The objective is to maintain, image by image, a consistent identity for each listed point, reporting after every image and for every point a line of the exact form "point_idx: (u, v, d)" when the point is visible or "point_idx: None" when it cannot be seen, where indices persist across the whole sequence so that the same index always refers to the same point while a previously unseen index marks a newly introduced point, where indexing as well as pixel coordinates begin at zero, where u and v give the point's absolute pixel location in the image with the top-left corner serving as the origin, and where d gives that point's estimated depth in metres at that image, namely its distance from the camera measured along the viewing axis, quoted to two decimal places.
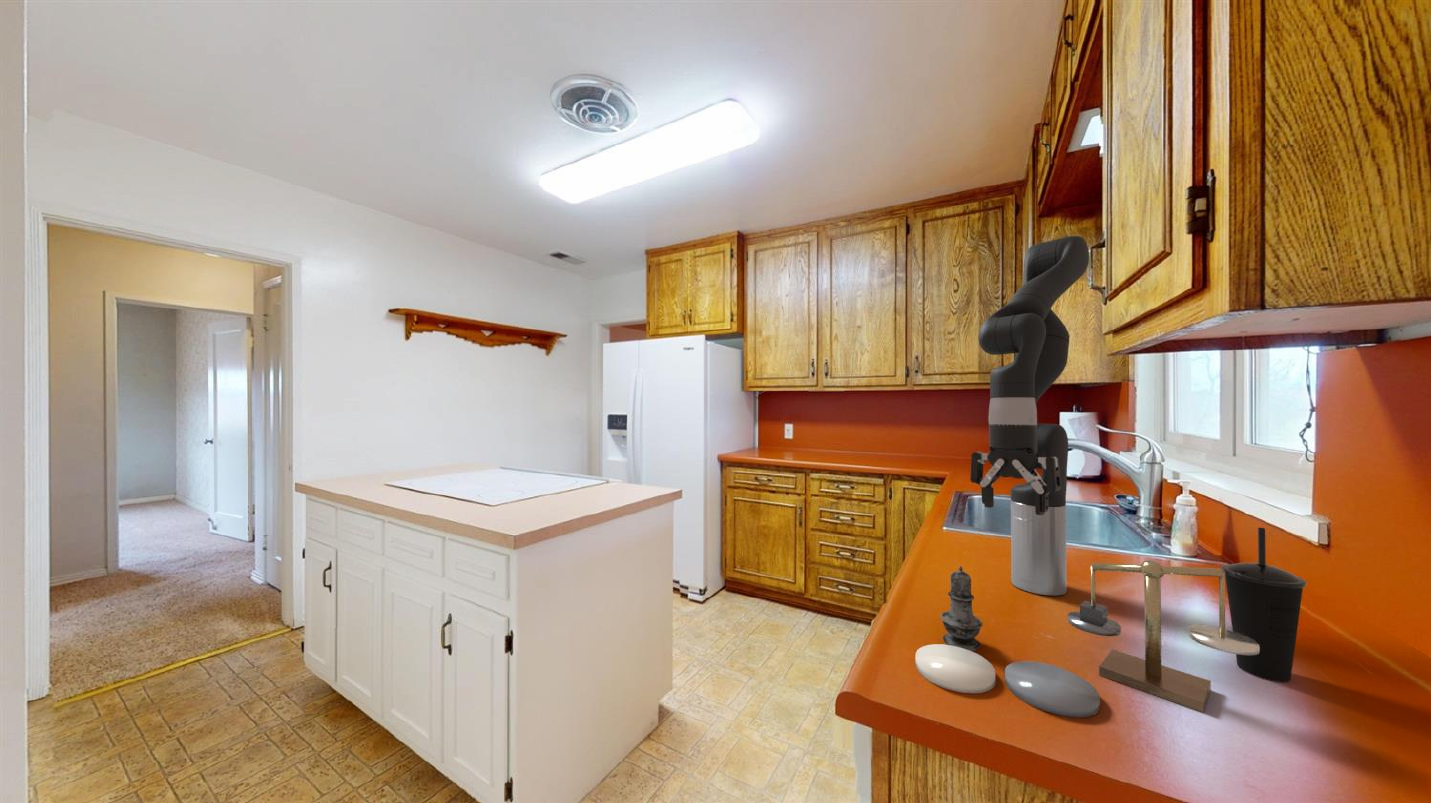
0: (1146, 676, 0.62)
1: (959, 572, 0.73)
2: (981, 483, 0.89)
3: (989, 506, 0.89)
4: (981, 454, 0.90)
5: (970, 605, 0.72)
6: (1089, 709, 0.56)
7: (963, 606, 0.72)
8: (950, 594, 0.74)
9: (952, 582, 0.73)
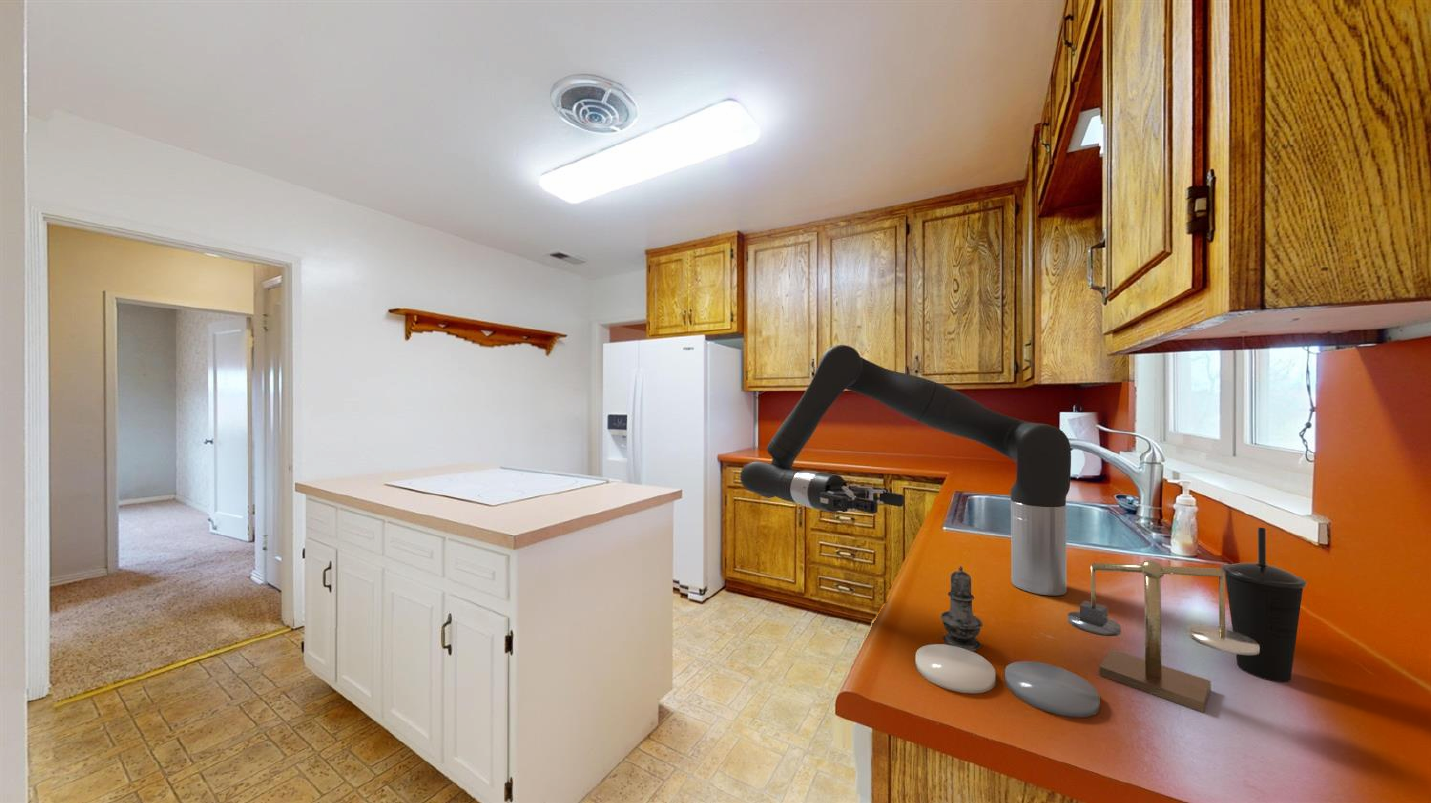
0: (1146, 676, 0.62)
1: (959, 572, 0.73)
2: None
3: (900, 504, 0.86)
4: None
5: (970, 605, 0.72)
6: (1089, 709, 0.56)
7: (963, 606, 0.72)
8: (950, 594, 0.74)
9: (952, 582, 0.73)
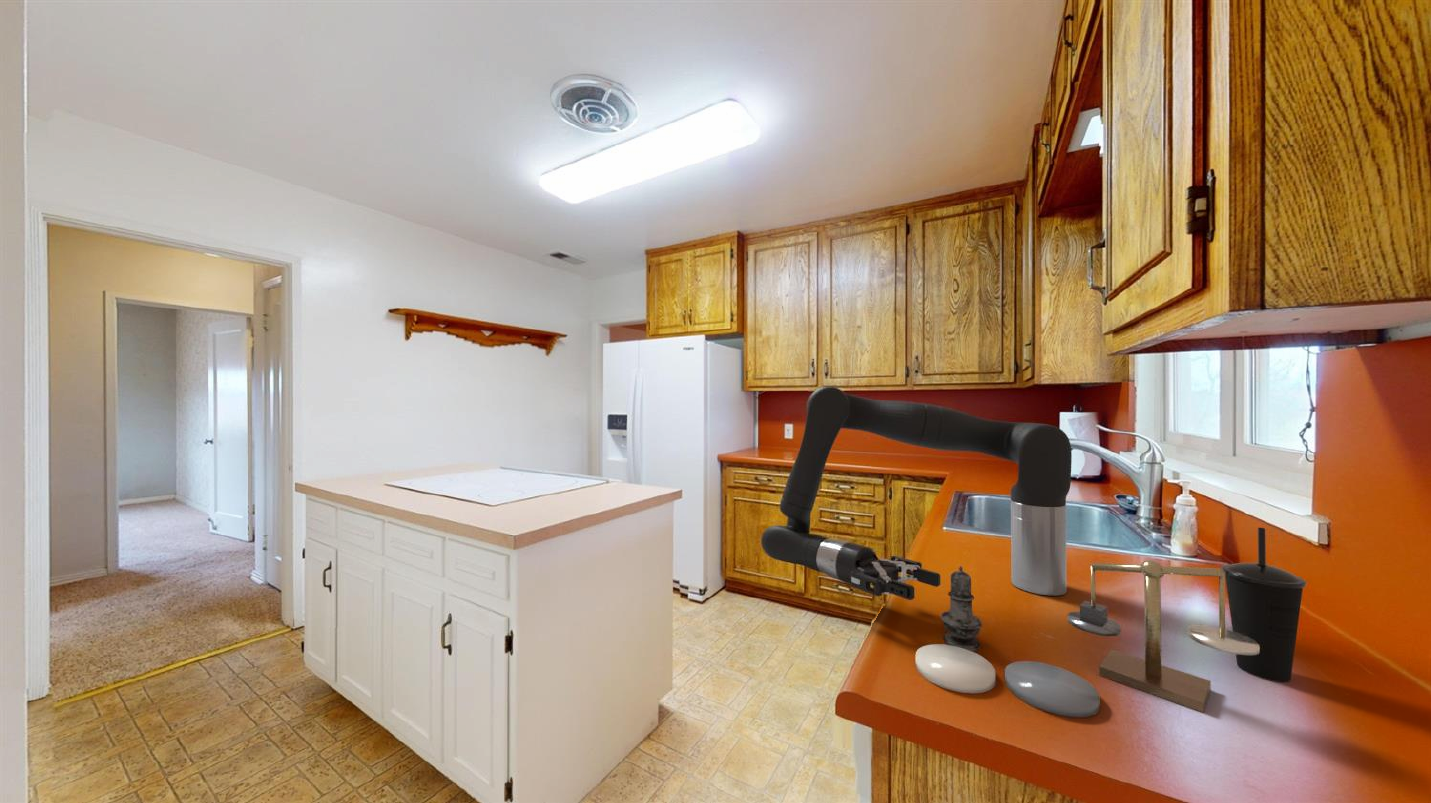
0: (1146, 676, 0.62)
1: (959, 572, 0.73)
2: None
3: (937, 584, 0.81)
4: None
5: (970, 605, 0.72)
6: (1089, 709, 0.56)
7: (963, 606, 0.72)
8: (950, 594, 0.74)
9: (952, 582, 0.73)
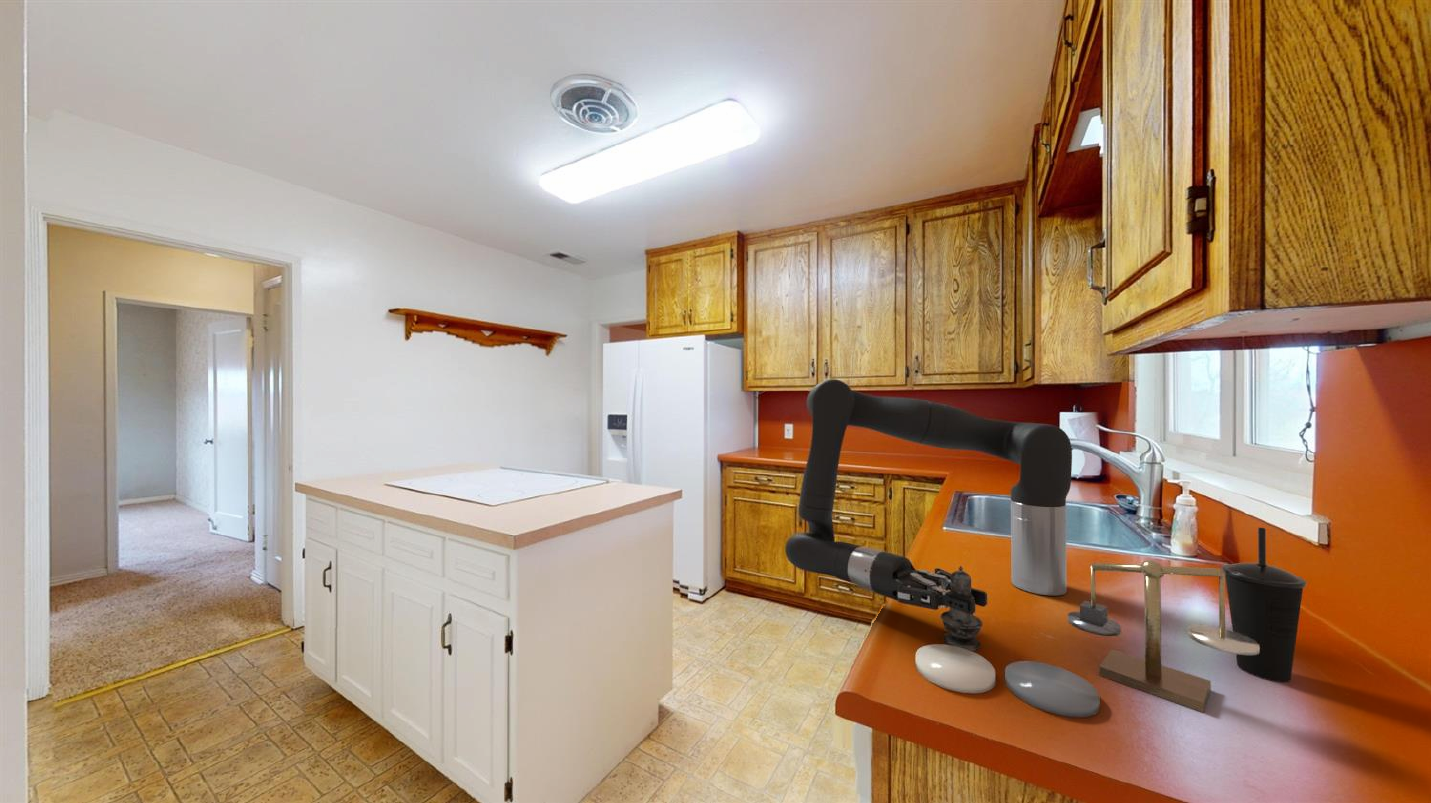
0: (1146, 676, 0.62)
1: (959, 572, 0.73)
2: None
3: (983, 603, 0.73)
4: None
5: None
6: (1089, 709, 0.56)
7: None
8: None
9: (952, 582, 0.73)
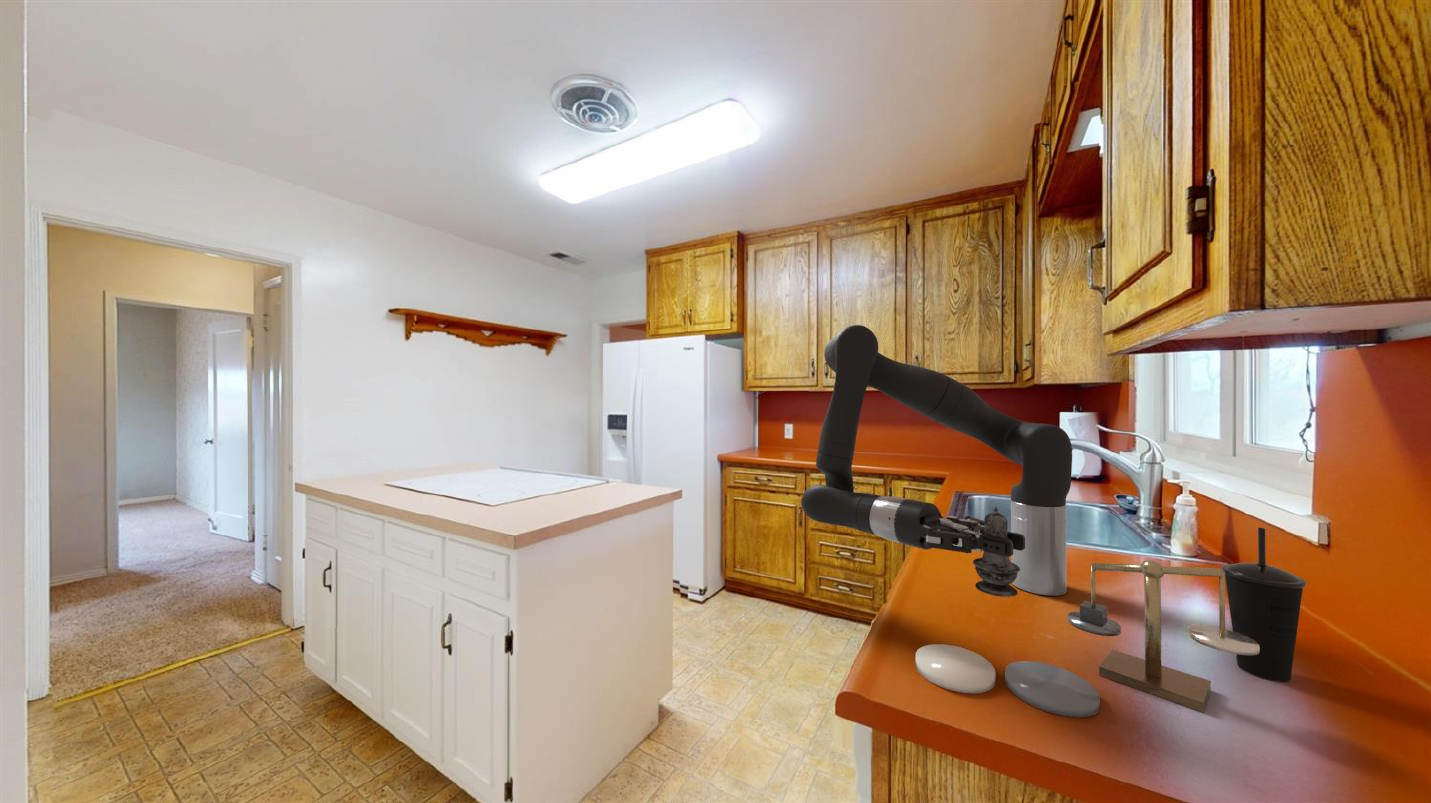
0: (1146, 676, 0.62)
1: (994, 513, 0.67)
2: None
3: (1021, 547, 0.67)
4: None
5: None
6: (1089, 709, 0.56)
7: None
8: None
9: (986, 524, 0.68)
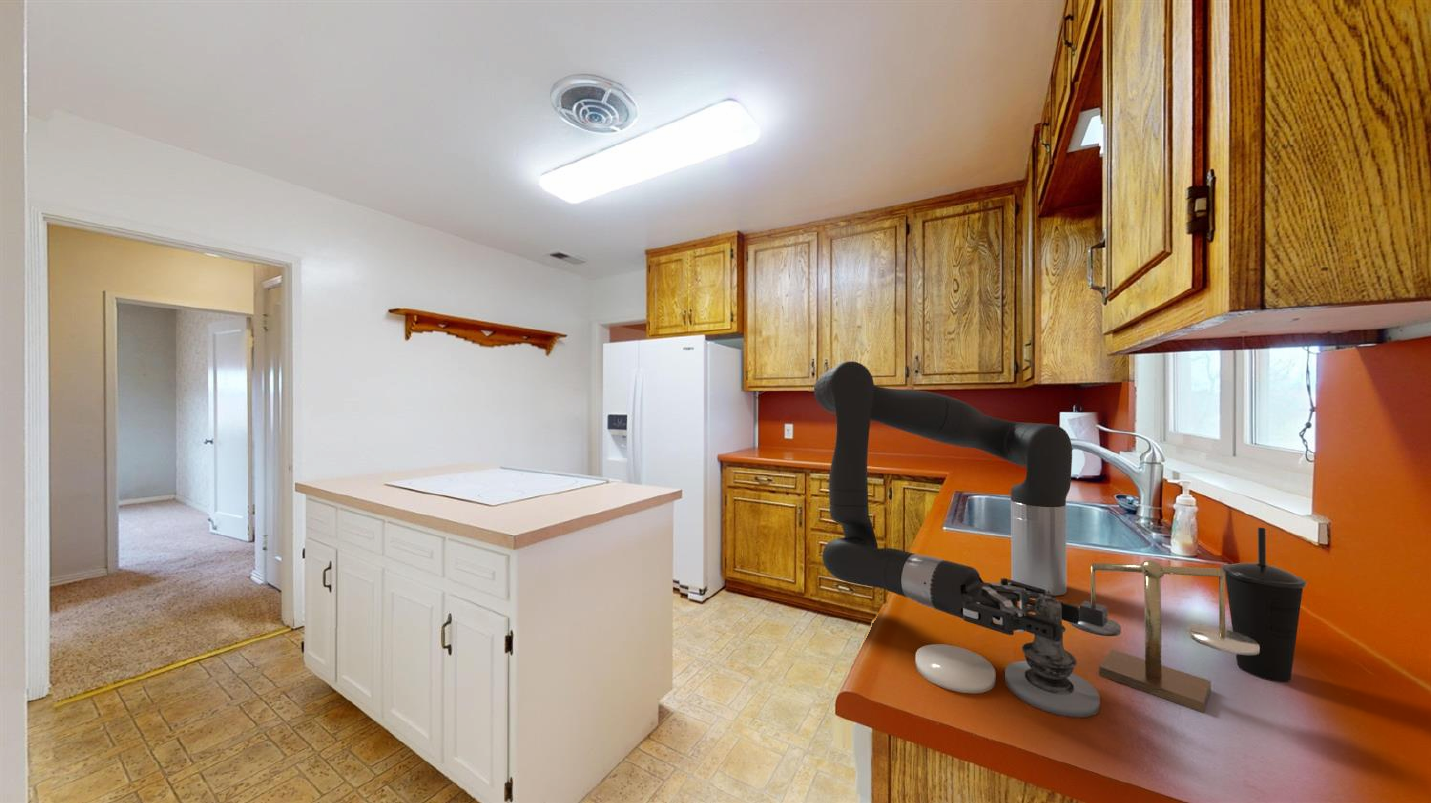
0: (1146, 676, 0.62)
1: (1046, 598, 0.61)
2: None
3: (1076, 620, 0.61)
4: None
5: None
6: (1089, 709, 0.56)
7: None
8: None
9: (1038, 610, 0.61)
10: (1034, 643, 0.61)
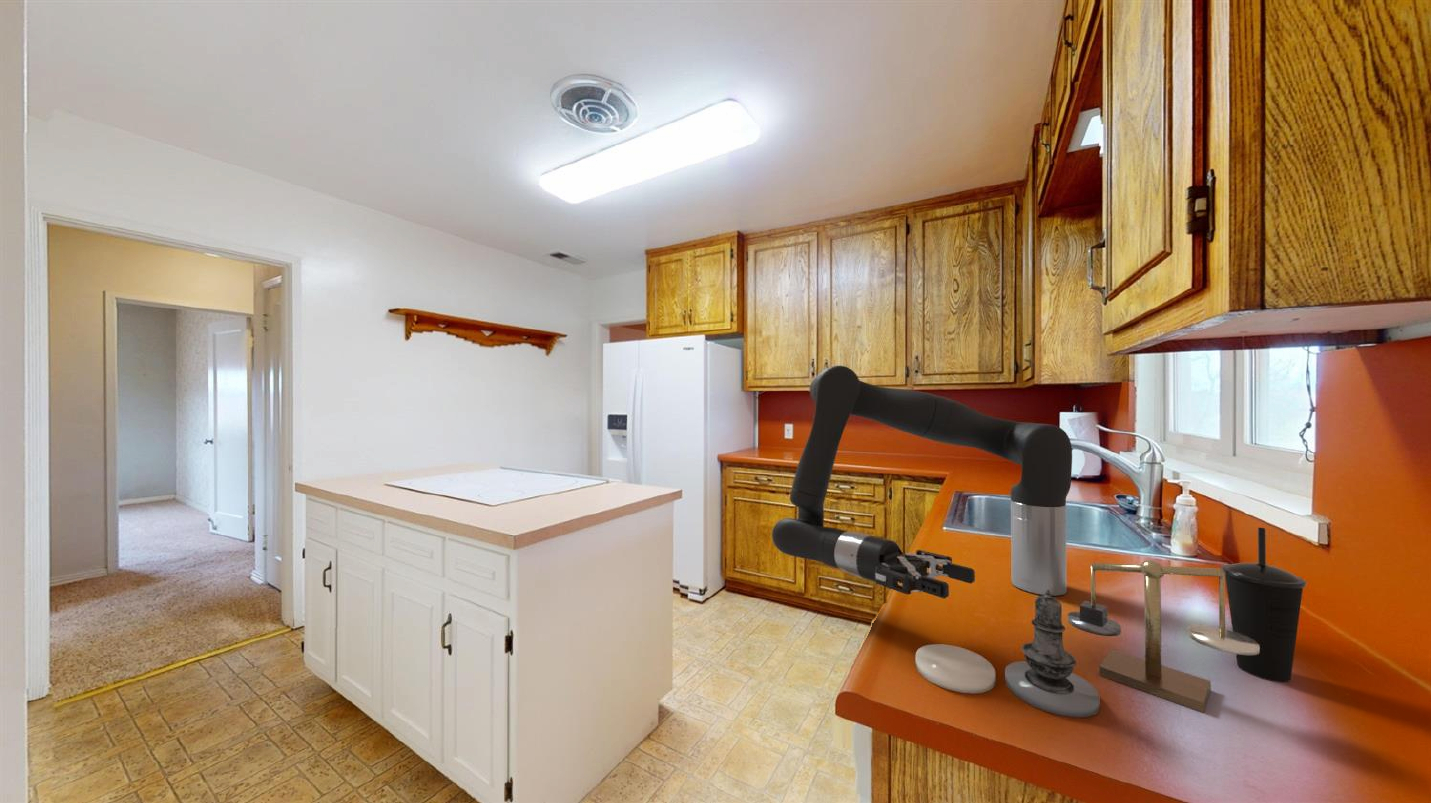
0: (1146, 676, 0.62)
1: (1046, 597, 0.61)
2: None
3: (971, 580, 0.73)
4: None
5: (1061, 637, 0.60)
6: (1089, 709, 0.56)
7: (1053, 638, 0.60)
8: (1035, 623, 0.61)
9: (1038, 609, 0.61)
10: (1034, 643, 0.62)
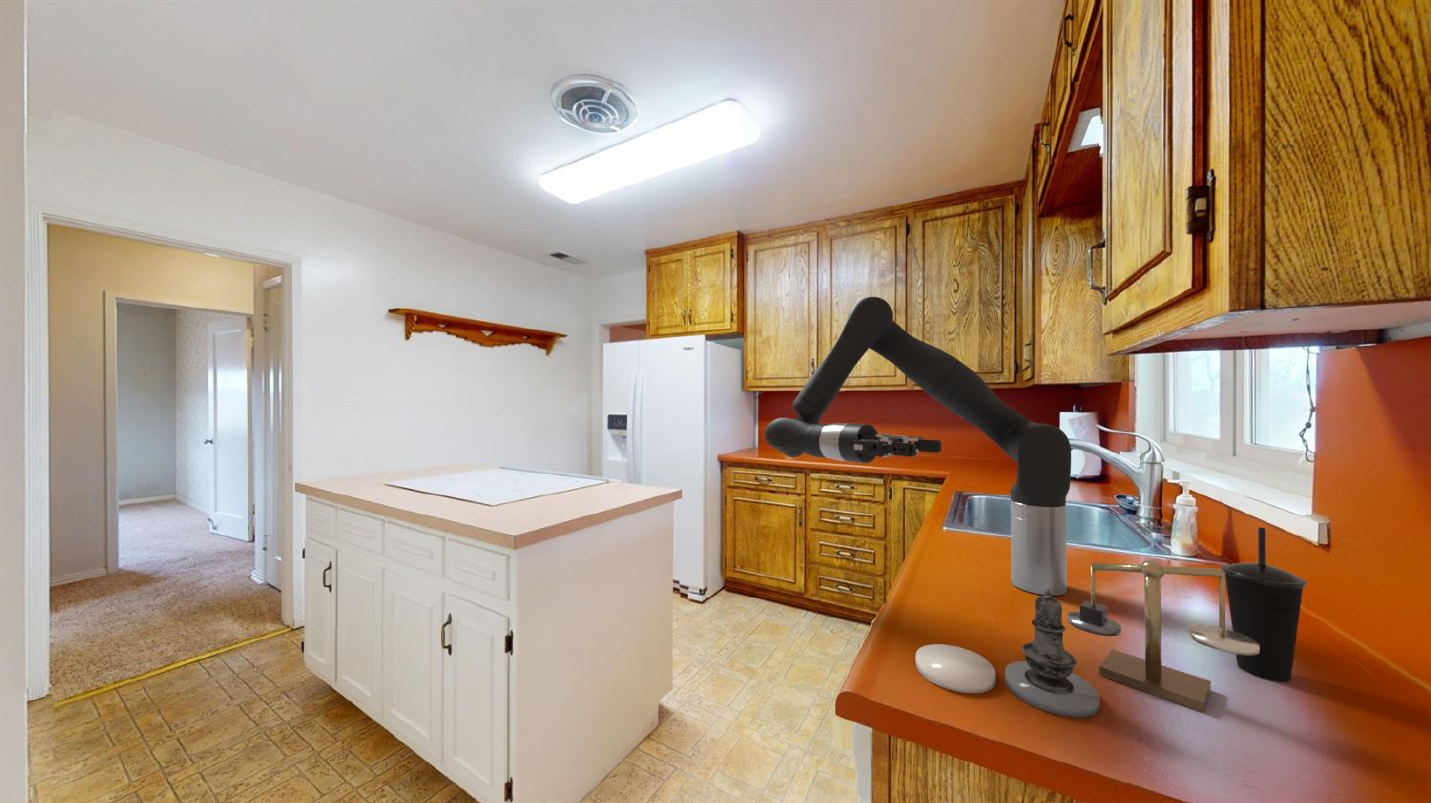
0: (1146, 676, 0.62)
1: (1046, 597, 0.61)
2: None
3: (938, 450, 0.82)
4: None
5: (1061, 638, 0.60)
6: (1089, 709, 0.56)
7: (1053, 638, 0.60)
8: (1035, 623, 0.61)
9: (1038, 609, 0.61)
10: (1034, 642, 0.62)
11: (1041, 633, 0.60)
